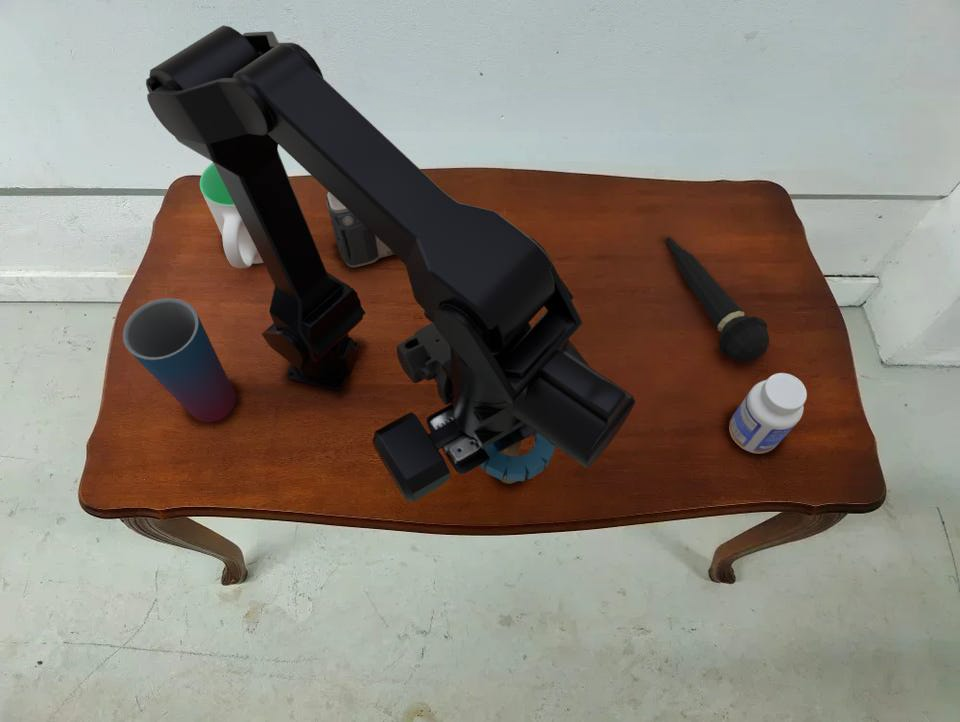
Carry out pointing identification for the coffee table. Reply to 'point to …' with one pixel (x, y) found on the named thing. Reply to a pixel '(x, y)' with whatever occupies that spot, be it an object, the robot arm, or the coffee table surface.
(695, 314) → the coffee table surface
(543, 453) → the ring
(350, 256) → the camera
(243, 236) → the mug
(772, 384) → the pill bottle
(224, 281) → the coffee table surface
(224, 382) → the cup
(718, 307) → the microphone
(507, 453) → the beige peg
